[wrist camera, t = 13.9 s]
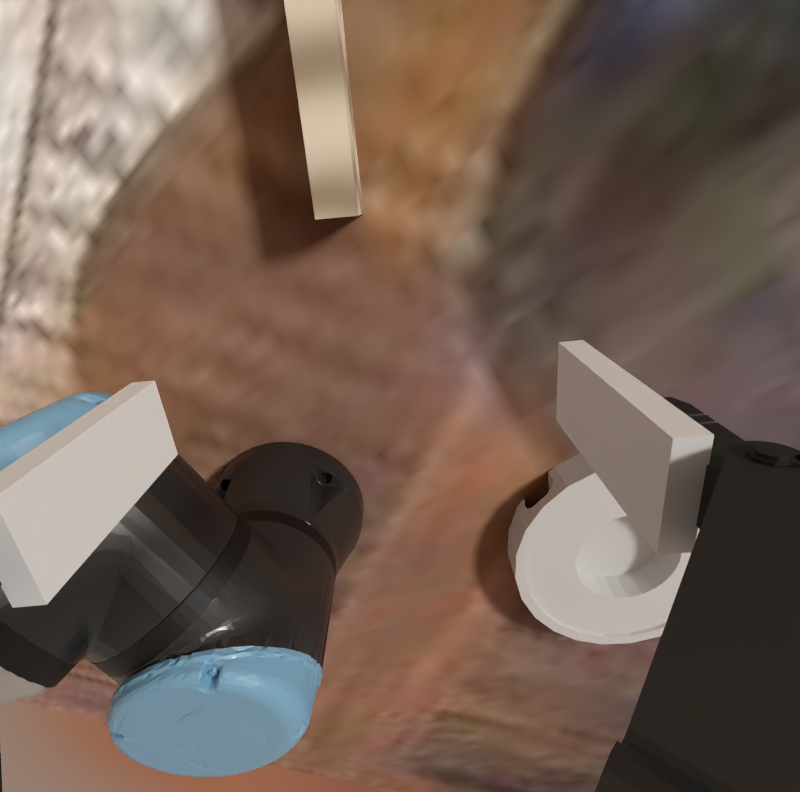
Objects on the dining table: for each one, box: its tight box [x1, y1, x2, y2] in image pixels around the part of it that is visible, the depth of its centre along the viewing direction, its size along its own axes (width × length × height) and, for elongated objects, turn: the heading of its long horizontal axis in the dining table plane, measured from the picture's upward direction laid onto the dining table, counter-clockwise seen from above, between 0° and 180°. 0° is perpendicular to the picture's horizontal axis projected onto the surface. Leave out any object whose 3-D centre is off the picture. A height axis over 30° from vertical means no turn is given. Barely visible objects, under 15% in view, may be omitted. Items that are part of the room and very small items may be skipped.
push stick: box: [284, 0, 363, 220], centre depth 32 cm, size 18×3×6 cm, turn 5°
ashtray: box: [508, 453, 700, 644], centre depth 49 cm, size 23×23×4 cm
